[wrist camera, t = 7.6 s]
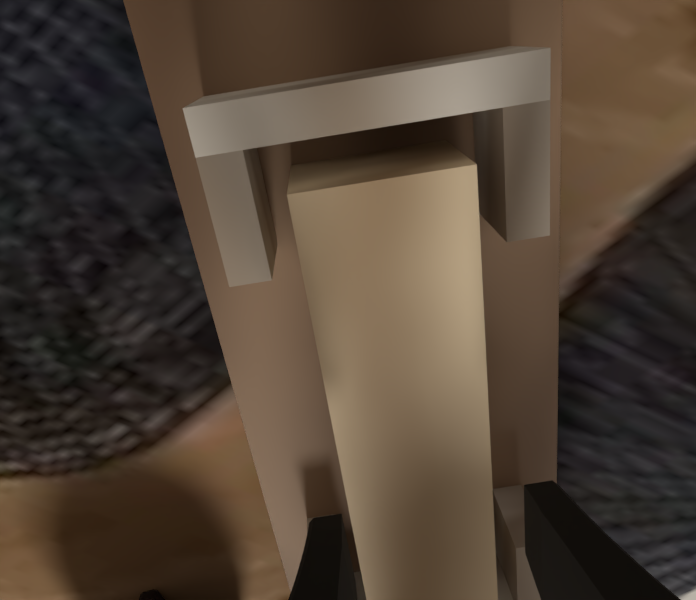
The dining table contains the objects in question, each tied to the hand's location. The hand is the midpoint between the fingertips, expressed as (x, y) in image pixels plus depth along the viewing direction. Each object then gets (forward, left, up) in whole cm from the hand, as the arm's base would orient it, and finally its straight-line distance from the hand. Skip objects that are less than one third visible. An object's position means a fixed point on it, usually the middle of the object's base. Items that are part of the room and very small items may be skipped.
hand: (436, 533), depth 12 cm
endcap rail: (0, 0, -7) cm, 7 cm away
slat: (0, 0, -6) cm, 6 cm away
